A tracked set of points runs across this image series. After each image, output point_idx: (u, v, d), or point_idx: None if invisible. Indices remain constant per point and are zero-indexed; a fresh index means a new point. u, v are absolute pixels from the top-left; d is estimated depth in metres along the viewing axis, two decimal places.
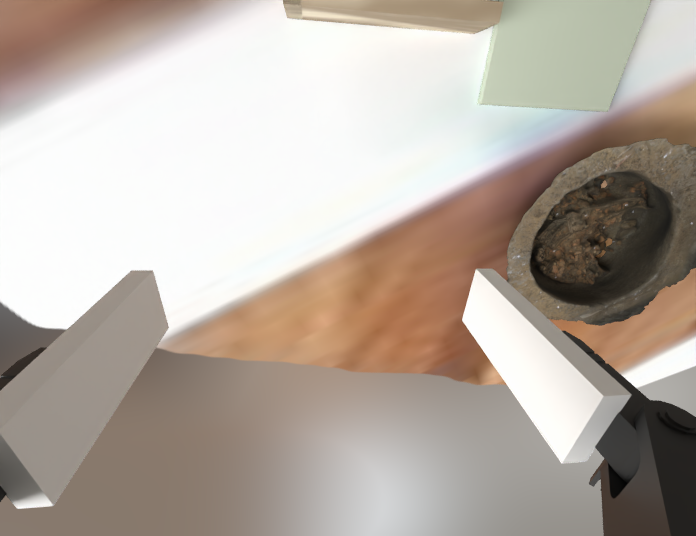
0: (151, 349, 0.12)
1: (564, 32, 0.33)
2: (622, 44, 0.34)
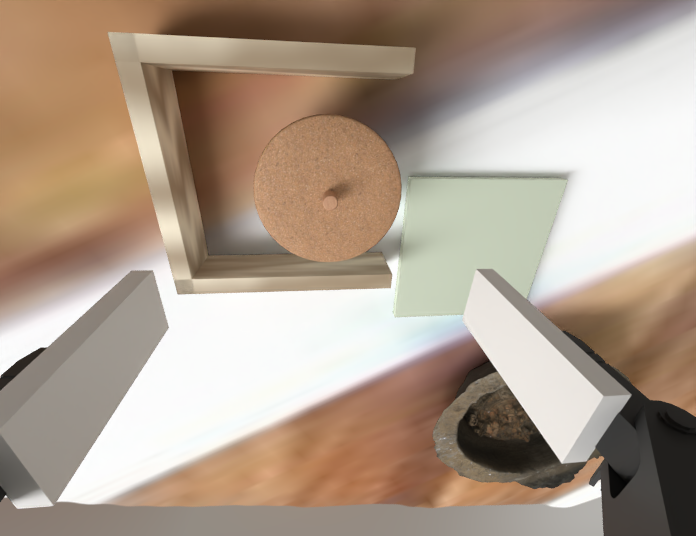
0: (152, 349, 0.12)
1: (467, 262, 0.34)
2: (527, 265, 0.35)
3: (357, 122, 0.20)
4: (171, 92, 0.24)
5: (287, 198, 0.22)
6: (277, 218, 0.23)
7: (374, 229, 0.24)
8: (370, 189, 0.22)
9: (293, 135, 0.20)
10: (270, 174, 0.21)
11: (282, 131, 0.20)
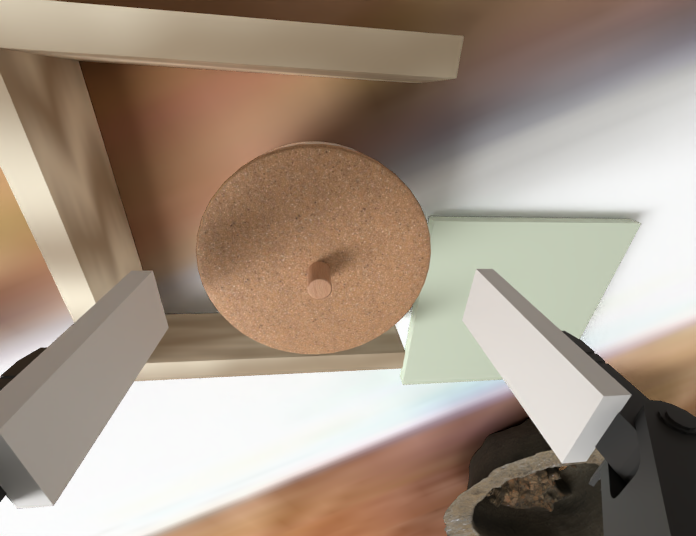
0: (151, 349, 0.12)
1: None
2: (573, 325, 0.27)
3: (366, 159, 0.12)
4: (77, 95, 0.16)
5: (251, 273, 0.14)
6: (237, 301, 0.14)
7: (387, 313, 0.16)
8: (383, 259, 0.14)
9: (258, 179, 0.12)
10: (222, 239, 0.13)
11: (239, 172, 0.12)
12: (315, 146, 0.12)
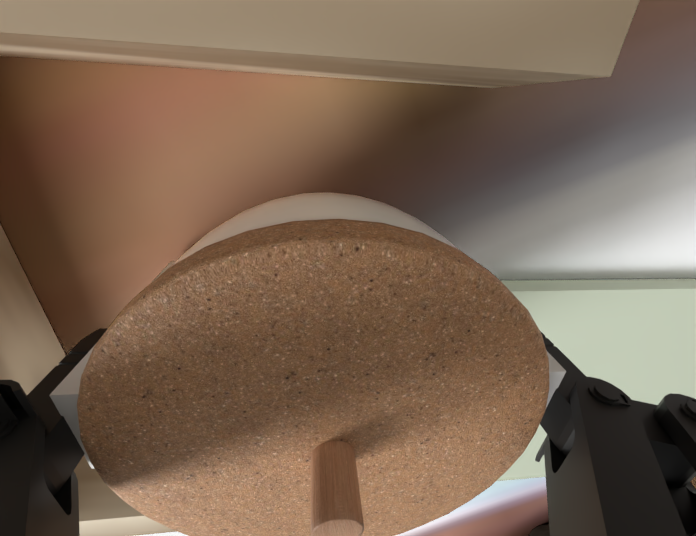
0: None
1: None
2: None
3: (447, 260, 0.05)
4: None
5: (198, 467, 0.07)
6: (174, 504, 0.07)
7: (453, 497, 0.09)
8: (460, 429, 0.07)
9: (196, 311, 0.05)
10: (128, 419, 0.06)
11: (152, 296, 0.05)
12: (330, 235, 0.05)
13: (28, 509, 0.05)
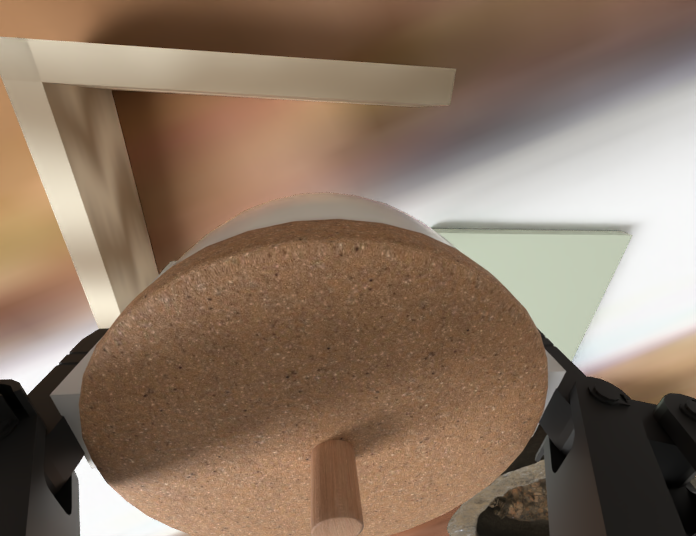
0: None
1: None
2: (571, 333, 0.28)
3: (446, 260, 0.05)
4: (109, 120, 0.17)
5: (199, 466, 0.07)
6: (175, 503, 0.07)
7: (452, 496, 0.09)
8: (458, 427, 0.07)
9: (197, 310, 0.05)
10: (130, 417, 0.06)
11: (153, 296, 0.05)
12: (330, 235, 0.05)
13: (28, 509, 0.05)
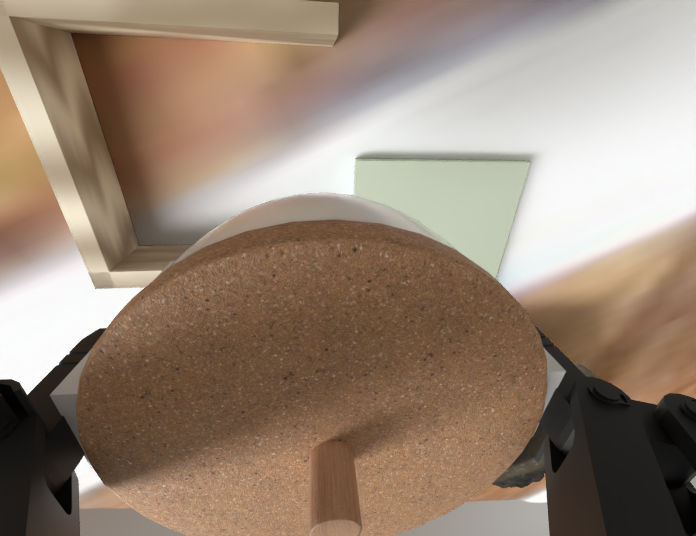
0: None
1: None
2: (490, 256, 0.32)
3: (445, 260, 0.05)
4: (69, 58, 0.21)
5: (196, 467, 0.07)
6: (173, 504, 0.07)
7: (451, 497, 0.09)
8: (458, 430, 0.07)
9: (194, 311, 0.05)
10: (127, 419, 0.06)
11: (150, 297, 0.05)
12: (328, 235, 0.05)
13: (28, 509, 0.05)
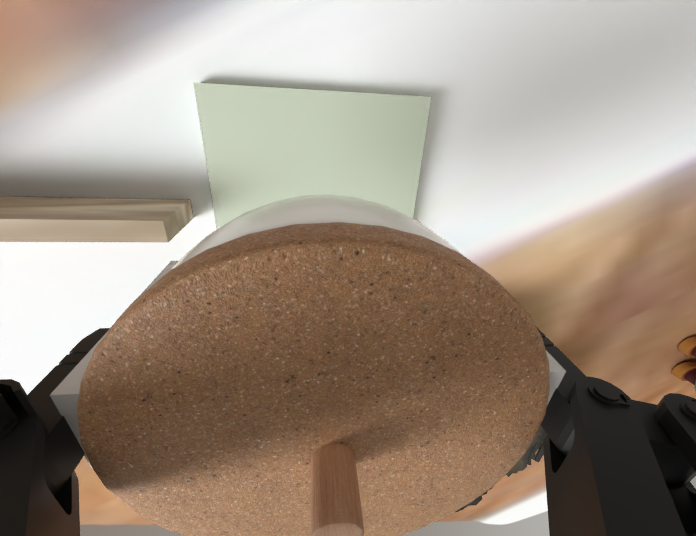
0: None
1: None
2: None
3: (447, 263, 0.05)
4: None
5: (198, 469, 0.07)
6: (174, 507, 0.07)
7: (453, 499, 0.09)
8: (460, 431, 0.07)
9: (197, 314, 0.05)
10: (128, 422, 0.06)
11: (152, 300, 0.05)
12: (330, 238, 0.05)
13: (28, 509, 0.05)
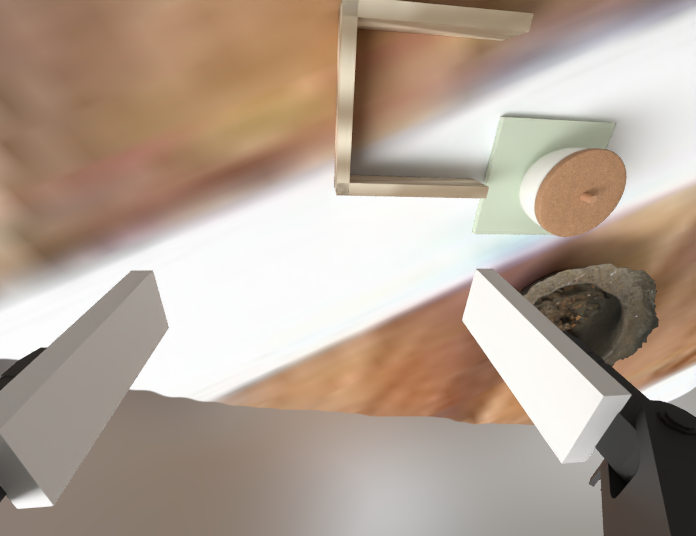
0: (151, 349, 0.12)
1: None
2: None
3: (614, 153, 0.35)
4: None
5: (560, 196, 0.37)
6: (550, 208, 0.37)
7: (600, 216, 0.39)
8: (608, 191, 0.37)
9: (578, 160, 0.35)
10: (557, 182, 0.36)
11: (573, 157, 0.35)
12: (599, 149, 0.35)
13: None
